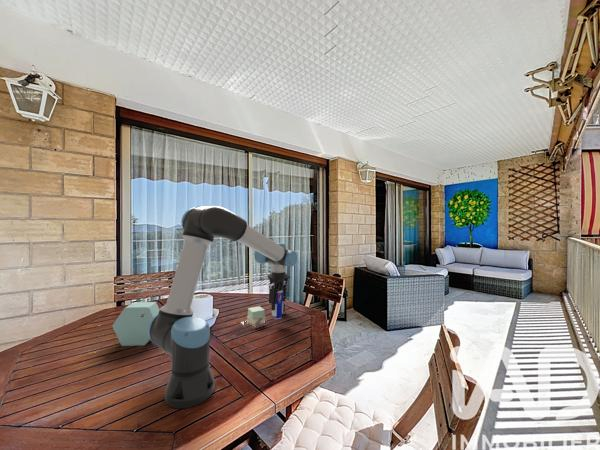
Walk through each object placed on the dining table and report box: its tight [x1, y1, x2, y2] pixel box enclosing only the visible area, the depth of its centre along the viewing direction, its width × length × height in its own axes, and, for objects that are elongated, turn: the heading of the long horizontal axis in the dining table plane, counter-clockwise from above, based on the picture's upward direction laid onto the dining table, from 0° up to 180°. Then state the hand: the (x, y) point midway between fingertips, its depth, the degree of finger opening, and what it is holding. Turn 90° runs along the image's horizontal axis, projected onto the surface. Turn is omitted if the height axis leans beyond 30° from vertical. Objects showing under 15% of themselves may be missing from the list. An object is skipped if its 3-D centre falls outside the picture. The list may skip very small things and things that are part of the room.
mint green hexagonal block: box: [112, 301, 160, 347], centre depth 120 cm, size 17×8×21 cm
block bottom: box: [246, 315, 266, 327], centre depth 142 cm, size 7×7×4 cm
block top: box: [247, 306, 266, 320], centre depth 142 cm, size 7×7×4 cm
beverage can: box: [272, 289, 283, 320], centre depth 138 cm, size 5×5×15 cm
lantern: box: [266, 273, 291, 313], centre depth 159 cm, size 15×15×30 cm
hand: (277, 314), depth 138 cm, fingers closed on beverage can, 5 cm apart
